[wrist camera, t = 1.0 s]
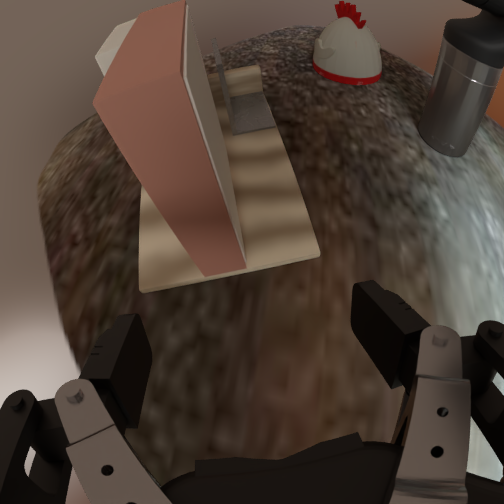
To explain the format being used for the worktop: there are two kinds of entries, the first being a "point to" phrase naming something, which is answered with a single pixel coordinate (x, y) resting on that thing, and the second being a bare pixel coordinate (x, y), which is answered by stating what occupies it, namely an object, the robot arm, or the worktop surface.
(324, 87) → the worktop surface
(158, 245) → the rack
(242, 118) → the bookend
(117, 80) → the terracotta book
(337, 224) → the worktop surface
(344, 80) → the kitchen timer
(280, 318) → the worktop surface
